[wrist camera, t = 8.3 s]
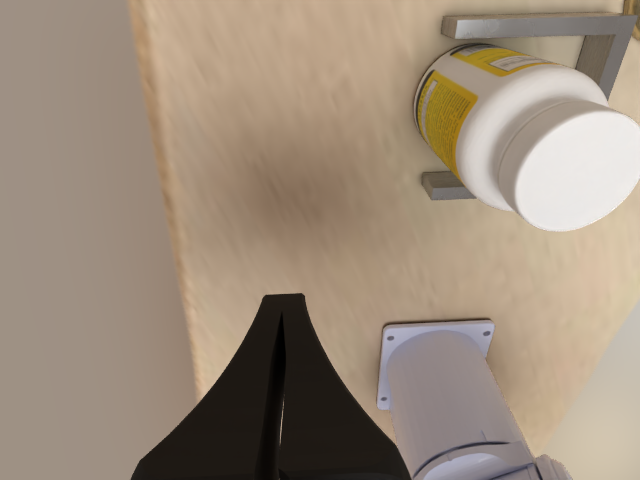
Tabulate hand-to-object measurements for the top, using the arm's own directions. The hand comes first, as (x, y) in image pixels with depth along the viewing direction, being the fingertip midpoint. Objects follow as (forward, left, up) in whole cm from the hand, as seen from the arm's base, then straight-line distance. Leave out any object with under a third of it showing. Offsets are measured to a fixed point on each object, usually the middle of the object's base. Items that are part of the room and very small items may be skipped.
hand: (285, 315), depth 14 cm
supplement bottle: (+4, -9, -11) cm, 15 cm away
